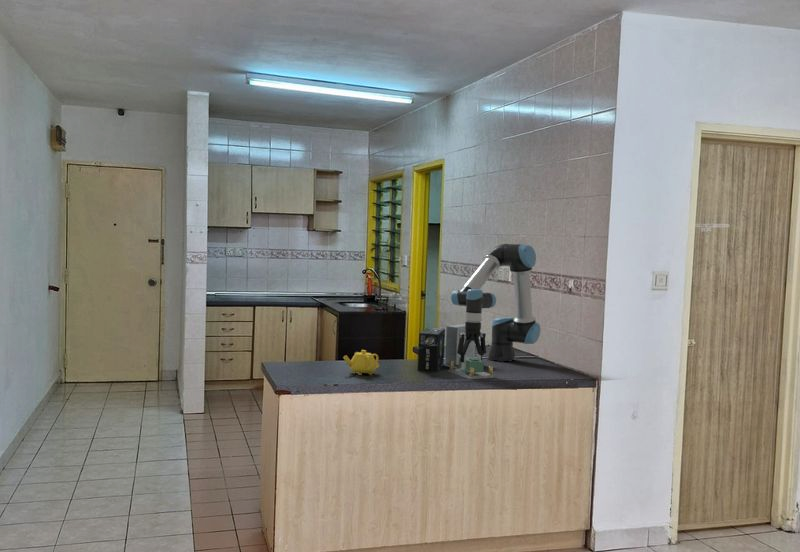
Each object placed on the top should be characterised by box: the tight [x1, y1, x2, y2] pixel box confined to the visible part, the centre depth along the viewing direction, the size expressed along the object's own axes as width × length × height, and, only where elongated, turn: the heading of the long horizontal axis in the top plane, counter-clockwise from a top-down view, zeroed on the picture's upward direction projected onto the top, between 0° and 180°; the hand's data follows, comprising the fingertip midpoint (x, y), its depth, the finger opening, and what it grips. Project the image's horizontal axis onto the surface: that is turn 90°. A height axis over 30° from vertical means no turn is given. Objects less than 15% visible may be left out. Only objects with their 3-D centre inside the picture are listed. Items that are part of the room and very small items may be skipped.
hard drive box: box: [444, 323, 476, 366], centre depth 382 cm, size 16×8×20 cm, turn 134°
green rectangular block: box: [458, 357, 485, 372], centre depth 351 cm, size 7×14×6 cm, turn 17°
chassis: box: [447, 361, 495, 380], centre depth 351 cm, size 13×20×5 cm, turn 27°
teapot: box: [342, 349, 380, 376], centre depth 341 cm, size 14×14×11 cm
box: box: [417, 327, 446, 373], centre depth 364 cm, size 23×10×19 cm, turn 168°
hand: (470, 368), depth 351 cm, fingers closed on green rectangular block, 8 cm apart
